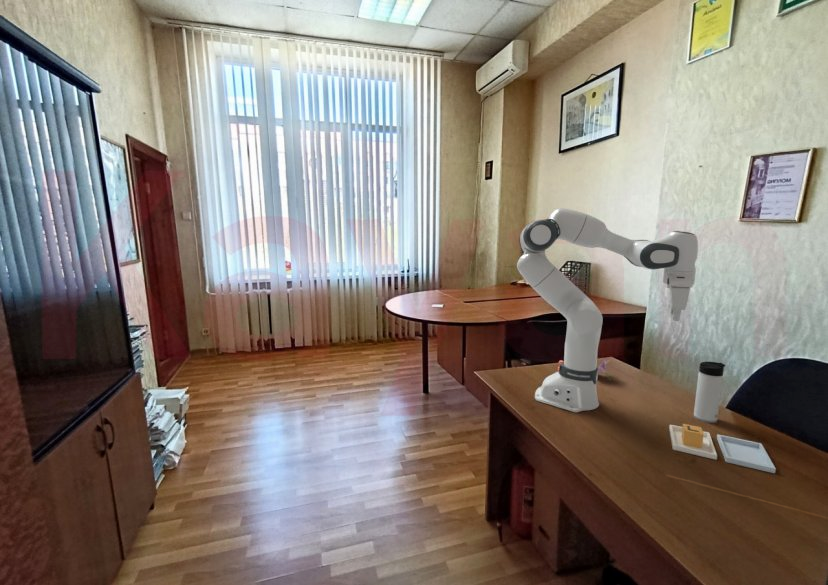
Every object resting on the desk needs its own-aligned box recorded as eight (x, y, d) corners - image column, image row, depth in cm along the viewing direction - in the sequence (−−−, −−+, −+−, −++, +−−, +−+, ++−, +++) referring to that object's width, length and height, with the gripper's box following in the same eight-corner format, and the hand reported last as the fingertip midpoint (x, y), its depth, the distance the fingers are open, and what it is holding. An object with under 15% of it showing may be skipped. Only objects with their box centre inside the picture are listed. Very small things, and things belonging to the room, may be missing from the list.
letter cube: (682, 444, 109) (684, 430, 108) (681, 436, 113) (682, 423, 112) (701, 448, 107) (703, 434, 106) (699, 440, 111) (701, 426, 110)
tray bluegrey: (725, 463, 101) (726, 457, 101) (716, 439, 112) (717, 434, 112) (774, 474, 96) (775, 468, 96) (760, 448, 107) (761, 443, 107)
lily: (609, 375, 164) (599, 355, 165) (628, 374, 153) (616, 353, 154) (588, 386, 161) (577, 366, 163) (605, 387, 150) (594, 365, 151)
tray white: (672, 450, 107) (673, 445, 107) (669, 429, 118) (669, 424, 118) (716, 461, 102) (717, 455, 102) (708, 437, 113) (709, 432, 113)
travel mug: (722, 425, 120) (730, 367, 116) (699, 423, 121) (706, 366, 118) (711, 415, 126) (718, 360, 122) (689, 414, 127) (696, 359, 124)
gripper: (665, 274, 137) (662, 310, 139) (669, 282, 120) (665, 323, 122) (686, 275, 134) (682, 312, 136) (693, 283, 116) (689, 325, 119)
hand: (674, 317), depth 129 cm, fingers open, 8 cm apart
